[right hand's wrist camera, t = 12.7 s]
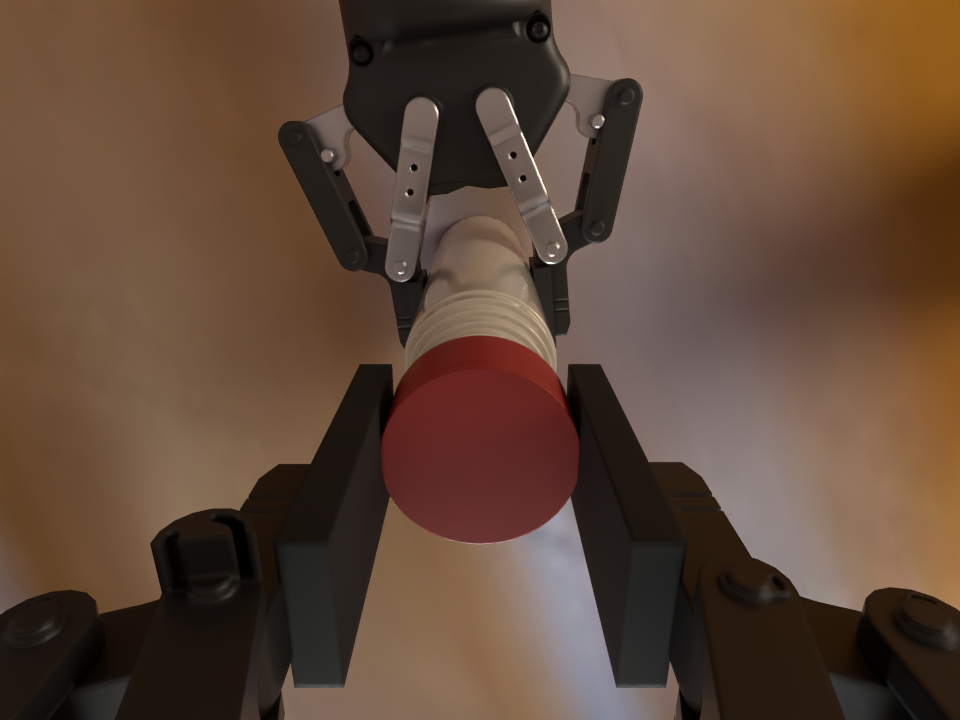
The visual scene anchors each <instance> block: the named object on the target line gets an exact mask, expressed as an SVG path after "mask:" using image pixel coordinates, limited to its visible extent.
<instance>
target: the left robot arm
mask: <svg viewBox="0 0 960 720" xmlns="http://www.w3.org/2000/svg"><path fill="white" fill-rule="evenodd" d="M339 4H340V10H341V16H342V21H343V27H344V33H345V38H346V44H347V50H348V56H349V76H348V81H347V85H346V88H345V91H344V95H343V104H341V105H339V106H337V107H335V108H333V109H330V110H328V111H326V112H324V113H322V114H320V115H317V116H315V117H313V118H311V119H309V120H307V121H289V122H286V123H285V124H283V125H282V126H281V128H280V130H279V133H278V140H279V143H280V145H281V147H282V149H283V151H284V153H285V155H286V157H287V159H288V161H289V163H290V165H291V167H292V169H293V171H294V173H295V175H296V177H297V179H298V181H299V183H300V185H301V187H302V189H303V191H304V193H305V195H306V197H307V199H308V201H309V203H310V205H311V207H312V209H313V211H314V213H315V215H316V217H317V219H318V221H319V223H320V225H321V227H322V229H323V231H324V233H325V235H326V237H327V239H328V241H329V243H330V245H331V247H332V249H333V251H334V253H335V255H336V257H337V259H338V261H339V263H340V264H341V265H342V267H344V268H345V269H347V270H349V271H358V270H364V271H368V272H372V273H376V274H379V275H381V276H383V277H384V278H385V279H386V280H387V281H388V283H389V285H390V287H391V292H392V298H393V303H394V309H395V315H396V319H397V326H398V332H399V337H400V342H401V344H402V345H403V347H404V349H405V346H406V342H407V339H408V336H409V333H410V330H411V327H412V324H413V321H414V318H415V315H416V312H417V309H418V306H419V303H420V300H421V297H422V294H423V291H424V288H425V285H426V282H427V279H428V275H427V269H423V270H421V263H420V257H421V251H422V245H423V238H424V232H425V226H426V221H427V216H428V211H429V206H430V200H431V196H432V195H440V194H448V193H450V192H452V191H455V190H457V189H460V188H462V187H464V186H474V187H481V188H488V189H489V188H497V187H505V186H509V188H510V191H511V193H512V195H513V198H514V200H515V202H516V205H517V207H518V209H519V211H520V214H521V216H522V218H523V221H524V223H525V225H526V228H527V230H528V232H529V235H530V237H531V239H532V246H533V257H529V265H530V272H531V275H532V278H533V281H534V284H535V287H536V290H537V293H538V296H539V299H540V302H541V305H542V308H543V311H544V314H545V317H546V320H547V323H548V326H549V329H550V332H551V334H552V337H553V341H554V344H555V348H556V338H555V336H561V335H566V334H567V331H568V328H569V325H570V313H569V301H568V284H567V270H566V266H567V262H568V259H569V257H570V256H571V255H572V254H573V253H574V252H575V251H576V250H578V249H580V248H582V247H584V246H586V245H588V244H590V243H601V242H603V241H605V240H606V239H607V238H608V237H609V236H610V234H611V232H612V228H613V224H614V219H615V215H616V211H617V207H618V202H619V198H620V194H621V189H622V185H623V181H624V176H625V172H626V168H627V164H628V159H629V155H630V151H631V146H632V142H633V138H634V133H635V129H636V125H637V121H638V116H639V112H640V108H641V103H642V99H643V91H642V88H641V86H640V84H639V83H638V82H637V81H635V80H633V79H630V78H626V79H618V80H615V81H609V80H603V79H597V78H591V77H586V76H580V75H574V74H570V72H569V68H568V66H567V64H566V62H565V60H564V59H563V57H562V55H561V54H560V52H559V50H558V48H557V45H556V42H555V39H554V34H553V26H552V11H551V0H339ZM564 102H567V103H569V104H570V105H571V106H572V107H573V108H574V110H575V114H576V128H577V130H578V132H579V133H580V134H581V135H583V136H585V137H588V138H589V142H588V147H587V152H586V157H585V162H584V166H583V171H582V176H581V181H580V186H579V190H578V195H577V200H576V205H575V210H574V211H573V212H571V213H569V214H567V215H565V216H563V217H561V218H559V219H557V218H556V215H555V213H554V210H553V208H552V206H551V203H550V200H549V197H548V194H547V192H546V189H545V187H544V184H543V182H542V180H541V177H540V175H539V172H538V170H537V167H536V165H535V163H534V160H533V157H534V155H535V153H536V152H537V150H538V148H539V146H540V145H541V143H542V141H543V139H544V137H545V136H546V134H547V132H548V130H549V128H550V127H551V125H552V123H553V121H554V119H555V118H556V116H557V114H558V112H559V111H560V109H561V107H562V105H563V103H564ZM353 130H356V131H357V132H358V133H359V134H360V135H361V136H362V137H363V138H364V139H365V140H366V141H367V142H368V143H369V144H370V146H371V147H372V148H373V149H374V150H375V151H376V152H377V153H378V154H379V155H380V156H381V157H382V158H383V159H384V161H385V162H386V163H387V164H388V165H389V166H390V167H391V168H392V169H393V170H394V171H395V172H396V173H397V175H396V182H395V189H394V195H393V202H392V209H391V227H390V234H389V239H386V238H382V237H378V236H374V234H373V232H372V230H371V228H370V226H369V224H368V222H367V220H366V217H365V215H364V213H363V211H362V209H361V207H360V205H359V203H358V201H357V199H356V196H355V194H354V192H353V190H352V188H351V186H350V184H349V182H348V180H347V177H346V175H345V173H344V171H343V168H345V167H346V166H347V165H348V164H349V162H350V160H351V150H350V147H349V137H350V135H351V133H352V132H353Z"/></svg>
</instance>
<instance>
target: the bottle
mask: <svg viewBox="0 0 960 720" xmlns="http://www.w3.org/2000/svg"><path fill="white" fill-rule="evenodd" d="M478 335H483V336H496V337H500V338H505V339H508V340H511V341H514V342H517V343H519V344H521V345H523V346H525V347H527V348H529V349H530V350H532V351H534V352H535V353H537V354H538V355H539V356H540V357H541V358H543V359H544V360H545V361H546V362H547V363H548V364H549V365H550V367H551V368H552V369H553V370H554V372H555V373H556V367H557V365H556V363H557V356H556V348H555V344H554V341H553V337H552V334H551V332H550V329H549V326H548V323H547V320H546V317H545V314H544V311H543V308H542V305H541V302H540V299H539V296H538V293H537V290H536V287H535V284H534V281H533V278H532V275H531V272H530V269H529V266H528V263H527V260H526V257H525V254H524V251H523V248H522V245H521V243H520V241H519V239H518V237H517V235H516V234H515V233H514V231H513V230H512V229H511V228H510V227H509V226H507V225H506V224H505V223H503V222H501V221H500V220H498V219H495V218H492V217H488V216H473V217H468V218H465V219H463V220H460V221H459V222H457V223H455V224H454V225H453V226H451V227H450V228H449V229H448V230H447V231H446V233H445V234H444V236H443V237H442V239H441V241H440V243H439V246H438V249H437V252H436V255H435V258H434V261H433V264H432V267H431V270H430V273H429V276H428V279H427V282H426V285H425V288H424V291H423V294H422V297H421V300H420V303H419V306H418V309H417V312H416V315H415V318H414V321H413V324H412V327H411V330H410V333H409V336H408V339H407V342H406V346H405V351H404V374H405V372H406V371H407V369H408V368H409V367H410V366H411V365H412V364H413V363H414V362H415V361H416V360H417V359H418V358H419V357H420V356H422V355H423V354H424V353H425V352H427V351H429V350H430V349H432V348H433V347H435V346H437V345H439V344H442V343H444V342H446V341H450V340H453V339H456V338H460V337H466V336H478Z"/></svg>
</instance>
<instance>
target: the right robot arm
mask: <svg viewBox="0 0 960 720" xmlns="http://www.w3.org/2000/svg"><path fill="white" fill-rule="evenodd" d="M393 398H394V392H393V374H392V364H360V365H359V367H358V370H357V372H356V374H355V376H354V378H353V380H352V382H351V384H350V386H349V388H348V390H347V392H346V394H345V396H344V398H343V400H342V402H341V404H340V406H339V408H338V410H337V412H336V414H335V416H334V418H333V420H332V422H331V424H330V426H329V428H328V430H327V432H326V434H325V436H324V438H323V440H322V442H321V444H320V447H319V449H318V451H317V453H316V455H315V457H314V459H313V461H312V463H311V464H278V465H277V466H276V467H274V468H273V469H272V470H270V471H269V472H267V473H266V474H265V475H263V476H262V477H261V478H259V480H258V481H257V483H256V485H255V486H254V488H253V489H252V491H251V493H250V494H249V499H246V501H245V502H244V504H243V506H242V507H241V509H240V511H238V510H234V509H231V508H229V509H209V510H204V511H200V512H195V513H192V514H189V515H187V516H185V517H182V518H180V519H178V520H175V521H174V522H172V523H171V524H169V525H168V526H167V527H165V528H164V529H162V530H161V531H159V533H158V534H157V535H156V537H155V538H154V539H153V541H152V542H151V543H150V545H151V549H152V553H153V558H154V562H155V566H156V570H157V574H158V578H159V583H160V587H161V591H162V595H161V597H160V599H159V600H155V601H152V602H149V603H145V604H142V605H138V606H133V607H129V608H124V609H120V610H115V611H111V612H107V613H102V614H99V611H98V608H97V604H96V601H95V600H94V599H93V598H92V597H91V596H90V595H88V594H87V593H85V592H80V591H75V590H65V591H56V592H49V593H46V594H43V595H40V596H36V597H34V598H30V599H27V600H26V601H24V602H22V603H20V604H18V605H16V606H14V607H12V608H10V609H8V610H6V611H5V612H4V613H2V614H1V615H0V720H284V715H285V712H284V705H283V699H282V693H281V689H282V686H283V683H284V680H285V677H286V674H287V671H288V669H289V666H290V663H291V667H292V674H293V680H294V687H295V688H344V685H345V681H346V677H347V672H348V668H349V664H350V660H351V656H352V652H353V647H354V643H355V639H356V635H357V631H358V627H359V622H360V618H361V614H362V610H363V606H364V602H365V598H366V593H367V589H368V585H369V581H370V577H371V573H372V568H373V564H374V560H375V556H376V552H377V548H378V543H379V539H380V535H381V531H382V527H383V523H384V518H385V514H386V510H387V506H388V502H389V498H390V495H389V493H388V490H387V488H386V486H385V484H384V481H383V474H382V460H381V437H382V434H383V430H384V427H385V424H386V421H387V418H388V414H389V411H390V408H391V405H392V401H393ZM567 400H568V403H569V406H570V409H571V412H572V415H573V419H574V422H575V425H576V428H577V431H578V435H579V438H580V450H579V465H578V479H577V483H576V485H575V488H574V490H573V492H572V494H571V500H572V504H573V509H574V513H575V517H576V521H577V525H578V529H579V534H580V538H581V542H582V546H583V550H584V554H585V559H586V563H587V567H588V571H589V575H590V579H591V583H592V588H593V592H594V596H595V600H596V604H597V608H598V613H599V617H600V621H601V625H602V629H603V633H604V638H605V642H606V646H607V650H608V654H609V658H610V663H611V667H612V671H613V675H614V679H615V683H616V688H666V683H667V676H668V670H669V663H670V662H671V665H672V667H673V670H674V673H675V676H676V679H677V682H678V684H679V693H678V699H677V705H676V711H675V717H674V720H960V611H959V610H957V609H956V608H954V607H952V606H950V605H948V604H946V603H944V602H943V601H941V600H939V599H937V598H935V597H932V596H929V595H926V594H923V593H920V592H917V591H914V590H910V589H901V588H892V587H890V588H884V589H879V590H874V591H873V592H872V593H871V594H870V595H869V596H868V597H867V598H866V599H865V603H864V606H863V609H862V612H860V611H856V610H852V609H847V608H843V607H838V606H834V605H829V604H825V603H821V602H817V601H813V600H810V599H807V598H803V597H801V596H799V594H798V592H797V590H796V589H795V587H794V585H793V584H792V582H791V581H790V579H788V578H787V577H786V576H785V575H783V574H782V573H781V572H780V571H779V570H777V569H776V568H775V567H772V566H770V565H768V564H766V563H764V562H762V561H760V560H758V559H754V558H752V557H751V555H750V554H749V552H748V551H747V549H746V547H745V546H744V544H743V543H742V541H741V539H740V538H739V536H738V535H737V533H736V531H735V530H734V528H733V526H732V525H731V523H730V522H729V520H728V518H727V517H726V515H725V514H724V512H723V511H721V507H720V506H719V504H718V502H717V501H716V499H715V498H714V497H712V493H711V491H710V490H709V488H708V486H707V485H706V483H705V482H704V480H703V478H702V477H701V476H700V475H698V474H697V473H696V472H694V471H693V470H692V469H690V468H689V467H688V466H686V465H685V464H684V463H682V462H648V460H647V458H646V456H645V454H644V452H643V450H642V448H641V446H640V444H639V442H638V440H637V438H636V436H635V434H634V432H633V430H632V427H631V425H630V423H629V421H628V419H627V417H626V415H625V413H624V411H623V409H622V407H621V405H620V403H619V401H618V399H617V397H616V395H615V393H614V391H613V389H612V387H611V385H610V383H609V381H608V379H607V377H606V375H605V373H604V371H603V369H602V367H601V365H600V364H568V381H567Z"/></svg>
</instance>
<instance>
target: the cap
mask: <svg viewBox="0 0 960 720" xmlns="http://www.w3.org/2000/svg"><path fill="white" fill-rule="evenodd" d="M579 450H580V438H579V435H578V431H577V428H576V425H575V422H574V419H573V415H572V412H571V409H570V406H569V403H568V400H567V396H566V393H565V390H564V387H563V385H562V383H561V381H560V379H559V377H558V376H557V374H556V373H555V372H554V370H553V369H552V368H551V367H550V365H549V364H548V363H547V362H546V361H545V360H544V359H543V358H541V357H540V356H539V355H538V354H537V353H535V352H534V351H532V350H530V349H529V348H527V347H525V346H523V345H521V344H519V343H517V342H514V341H511V340H508V339H505V338H500V337H496V336H483V335H478V336H466V337H460V338H456V339H453V340H450V341H446V342H444V343H442V344H439V345H437V346H435V347H433V348H432V349H430V350H429V351H427V352H425V353H424V354H423V355H422V356H420V357H419V358H418V359H417V360H416V361H415V362H414V363H413V364H412V365H411V366H410V367H409V368H408V369H407V371H406V372H405V374H404V375H403V377H402V378H401V380H400V382H399V384H398V387H397V389H396V392H395V395H394V398H393V401H392V405H391V408H390V411H389V414H388V418H387V421H386V424H385V427H384V430H383V434H382V437H381V460H382V474H383V481H384V484H385V486H386V488H387V490H388V493H389V495H390V496H391V498H392V499H393V501H394V502H395V504H396V505H397V506H398V507H399V509H400V510H401V511H402V512H403V513H404V514H405V515H406V516H407V517H408V518H409V519H410V520H411V521H413V522H414V523H415V524H417V525H418V526H420V527H421V528H423V529H425V530H426V531H428V532H430V533H432V534H434V535H437V536H439V537H442V538H445V539H448V540H452V541H455V542H461V543H467V544H493V543H499V542H505V541H509V540H513V539H516V538H519V537H521V536H524V535H526V534H529V533H530V532H532V531H534V530H536V529H538V528H539V527H541V526H542V525H544V524H545V523H547V522H548V521H549V520H550V519H551V518H553V517H554V516H555V515H556V514H557V513H558V512H559V511H560V509H561V508H562V507H563V506H564V505H565V503H566V502H567V500H568V499H569V497H570V496H571V494H572V492H573V490H574V488H575V485H576V483H577V479H578V465H579Z"/></svg>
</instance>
